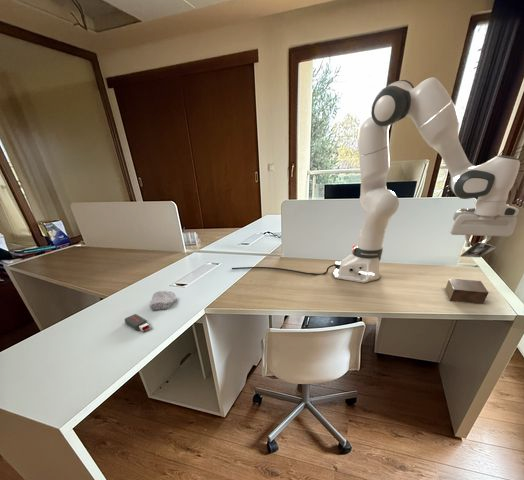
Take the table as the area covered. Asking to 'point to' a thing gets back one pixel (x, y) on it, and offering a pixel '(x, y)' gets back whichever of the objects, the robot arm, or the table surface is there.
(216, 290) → the table surface
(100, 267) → the table surface
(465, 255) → the paper boat
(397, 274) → the table surface
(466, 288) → the walnut block
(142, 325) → the usb drive
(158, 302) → the stone block
